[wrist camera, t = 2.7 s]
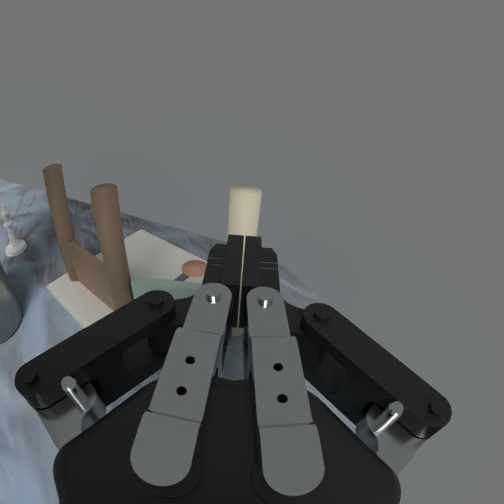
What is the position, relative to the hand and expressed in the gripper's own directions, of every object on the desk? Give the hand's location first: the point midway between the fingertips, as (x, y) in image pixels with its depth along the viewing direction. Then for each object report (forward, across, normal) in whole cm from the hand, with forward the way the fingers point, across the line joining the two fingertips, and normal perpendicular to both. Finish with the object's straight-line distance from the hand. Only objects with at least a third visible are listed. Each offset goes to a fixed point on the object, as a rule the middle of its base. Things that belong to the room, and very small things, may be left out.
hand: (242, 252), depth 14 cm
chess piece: (+23, +43, +19) cm, 53 cm away
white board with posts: (+19, +15, +20) cm, 31 cm away
